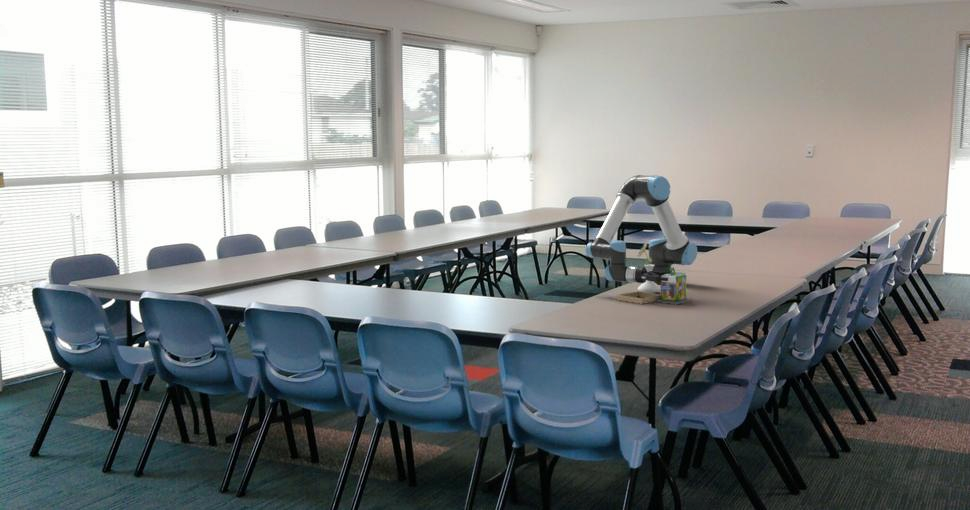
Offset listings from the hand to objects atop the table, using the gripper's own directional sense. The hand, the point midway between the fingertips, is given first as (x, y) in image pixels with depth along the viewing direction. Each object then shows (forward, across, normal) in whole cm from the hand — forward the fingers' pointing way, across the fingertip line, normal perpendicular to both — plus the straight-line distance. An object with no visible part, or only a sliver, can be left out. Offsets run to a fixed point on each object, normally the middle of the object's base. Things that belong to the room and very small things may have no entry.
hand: (680, 277), depth 424 cm
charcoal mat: (-3, 0, -12) cm, 12 cm away
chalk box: (-3, 0, -11) cm, 11 cm away
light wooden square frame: (-19, +3, -12) cm, 22 cm away
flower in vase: (-22, -17, -12) cm, 30 cm away
